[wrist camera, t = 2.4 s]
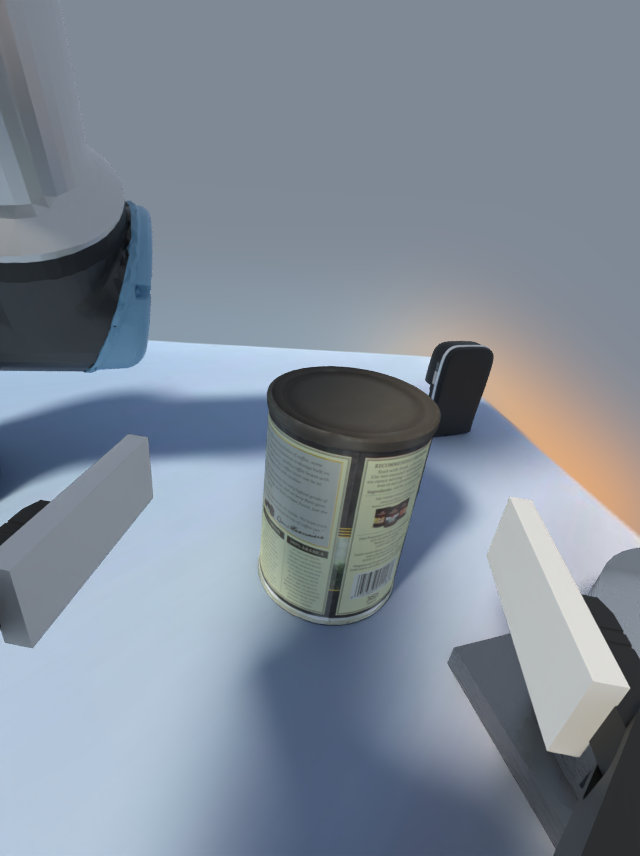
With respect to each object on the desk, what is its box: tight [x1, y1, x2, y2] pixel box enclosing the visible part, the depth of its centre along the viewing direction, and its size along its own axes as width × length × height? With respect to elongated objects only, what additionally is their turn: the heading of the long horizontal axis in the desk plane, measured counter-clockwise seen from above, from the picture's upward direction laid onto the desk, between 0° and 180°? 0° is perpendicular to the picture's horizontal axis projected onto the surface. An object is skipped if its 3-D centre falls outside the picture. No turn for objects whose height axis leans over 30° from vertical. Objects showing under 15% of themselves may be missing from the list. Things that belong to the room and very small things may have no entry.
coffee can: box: [258, 366, 441, 625], centre depth 29 cm, size 10×10×14 cm
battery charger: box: [425, 341, 493, 436], centre depth 52 cm, size 7×4×11 cm, turn 111°
